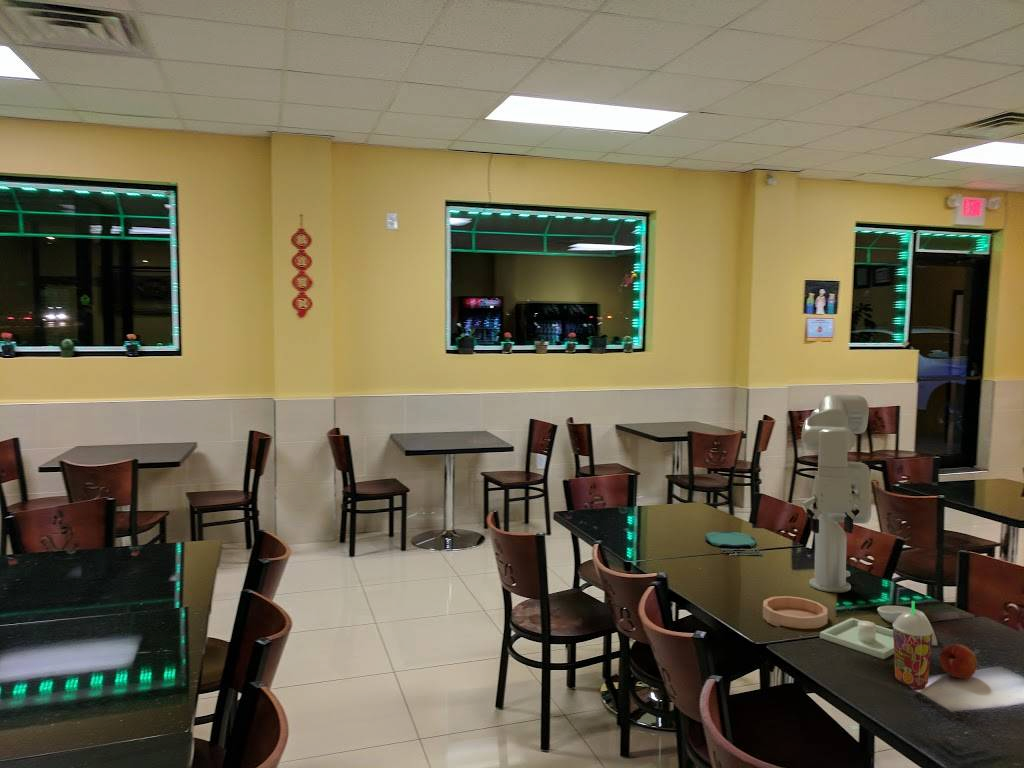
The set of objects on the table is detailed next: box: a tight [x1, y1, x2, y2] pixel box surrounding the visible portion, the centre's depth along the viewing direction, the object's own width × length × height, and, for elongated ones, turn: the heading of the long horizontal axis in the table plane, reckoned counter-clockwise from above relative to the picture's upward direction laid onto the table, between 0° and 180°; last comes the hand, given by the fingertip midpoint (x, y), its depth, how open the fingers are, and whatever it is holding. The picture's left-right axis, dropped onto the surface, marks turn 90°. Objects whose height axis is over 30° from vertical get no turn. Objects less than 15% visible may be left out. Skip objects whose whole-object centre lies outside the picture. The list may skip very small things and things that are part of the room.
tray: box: [819, 617, 894, 660], centre depth 192 cm, size 17×17×2 cm
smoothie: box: [892, 600, 934, 691], centre depth 168 cm, size 8×8×20 cm
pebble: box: [858, 620, 877, 643], centre depth 192 cm, size 4×4×4 cm
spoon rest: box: [876, 605, 938, 646], centre depth 200 cm, size 24×12×7 cm, turn 174°
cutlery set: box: [704, 531, 763, 557], centre depth 288 cm, size 20×30×2 cm, turn 175°
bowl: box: [762, 595, 829, 630], centre depth 208 cm, size 17×17×4 cm
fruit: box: [939, 643, 978, 680], centre depth 172 cm, size 8×8×8 cm
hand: (831, 532), depth 203 cm, fingers open, 9 cm apart
